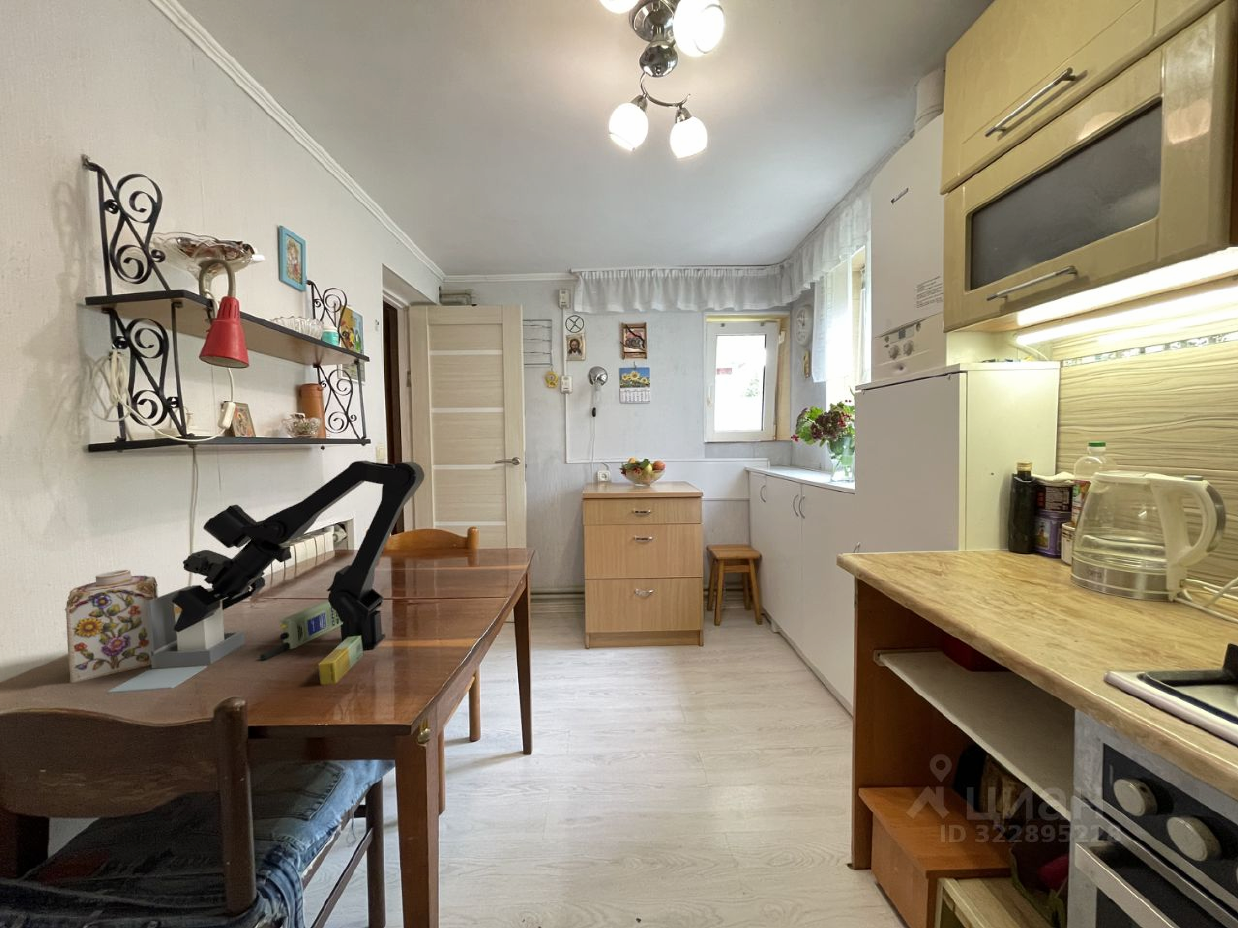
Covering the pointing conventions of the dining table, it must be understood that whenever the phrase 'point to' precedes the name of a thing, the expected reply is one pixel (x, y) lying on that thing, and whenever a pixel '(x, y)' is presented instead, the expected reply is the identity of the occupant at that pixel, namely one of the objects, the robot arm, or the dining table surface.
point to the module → (201, 631)
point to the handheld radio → (305, 627)
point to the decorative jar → (109, 625)
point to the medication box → (340, 660)
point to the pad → (158, 679)
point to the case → (166, 638)
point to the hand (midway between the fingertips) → (192, 622)
